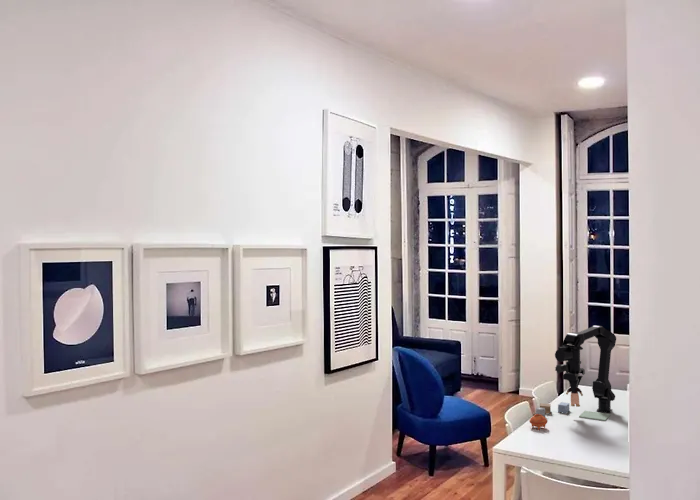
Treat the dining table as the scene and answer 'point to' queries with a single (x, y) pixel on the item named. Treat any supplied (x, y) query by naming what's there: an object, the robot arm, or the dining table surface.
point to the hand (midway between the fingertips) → (574, 391)
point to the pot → (538, 421)
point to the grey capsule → (540, 411)
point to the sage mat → (594, 415)
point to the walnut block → (546, 407)
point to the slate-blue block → (563, 407)
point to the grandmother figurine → (575, 396)
